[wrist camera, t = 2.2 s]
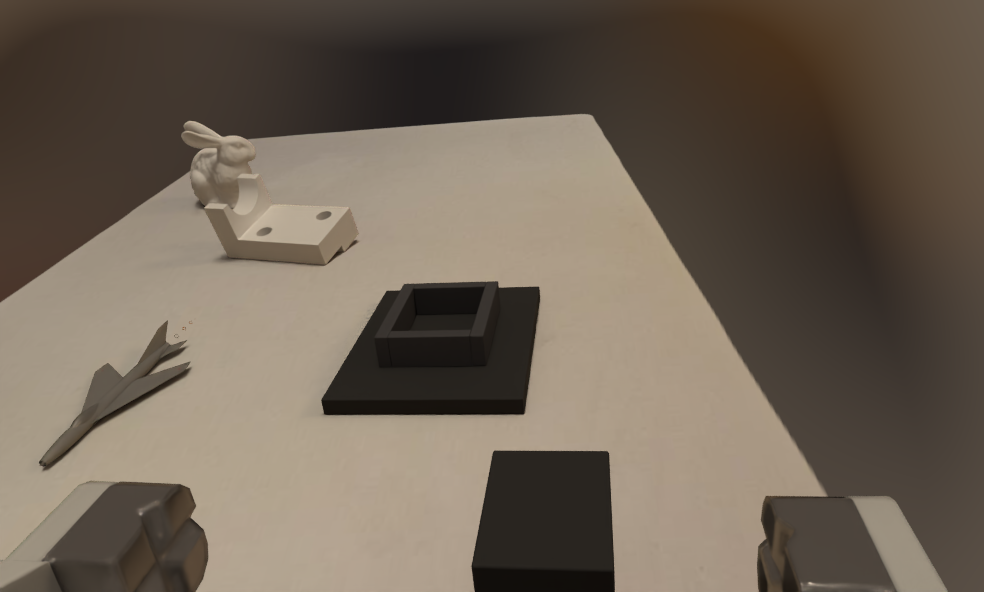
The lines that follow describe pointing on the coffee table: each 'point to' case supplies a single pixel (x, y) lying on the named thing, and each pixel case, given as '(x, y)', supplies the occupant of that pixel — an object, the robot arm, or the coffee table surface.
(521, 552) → the pad block
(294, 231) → the bracket
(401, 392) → the base pad
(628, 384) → the coffee table surface
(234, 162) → the rabbit
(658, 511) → the coffee table surface
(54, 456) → the toy airplane
